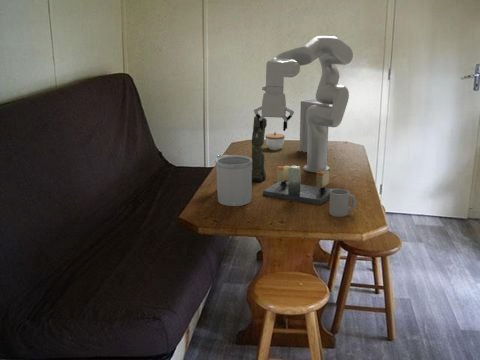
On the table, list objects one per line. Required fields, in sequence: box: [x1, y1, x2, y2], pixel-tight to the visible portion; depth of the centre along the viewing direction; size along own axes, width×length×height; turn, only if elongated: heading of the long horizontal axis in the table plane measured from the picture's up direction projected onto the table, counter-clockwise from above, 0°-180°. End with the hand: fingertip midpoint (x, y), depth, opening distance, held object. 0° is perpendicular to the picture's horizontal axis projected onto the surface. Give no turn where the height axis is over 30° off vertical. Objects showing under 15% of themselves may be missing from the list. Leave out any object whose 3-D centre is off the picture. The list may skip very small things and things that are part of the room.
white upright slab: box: [299, 98, 330, 153], centre depth 307 cm, size 19×15×28 cm
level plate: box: [262, 165, 333, 206], centre depth 235 cm, size 16×26×13 cm, turn 61°
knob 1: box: [276, 165, 291, 184], centre depth 243 cm, size 8×3×8 cm, turn 151°
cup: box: [328, 188, 357, 218], centre depth 213 cm, size 7×10×9 cm
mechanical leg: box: [251, 115, 267, 184], centre depth 257 cm, size 14×7×30 cm, turn 168°
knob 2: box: [315, 170, 331, 190], centre depth 234 cm, size 8×3×8 cm, turn 151°
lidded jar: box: [264, 131, 286, 151], centre depth 316 cm, size 11×11×9 cm
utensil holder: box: [214, 154, 253, 207], centre depth 227 cm, size 15×15×18 cm
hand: (273, 129), depth 243 cm, fingers open, 9 cm apart
